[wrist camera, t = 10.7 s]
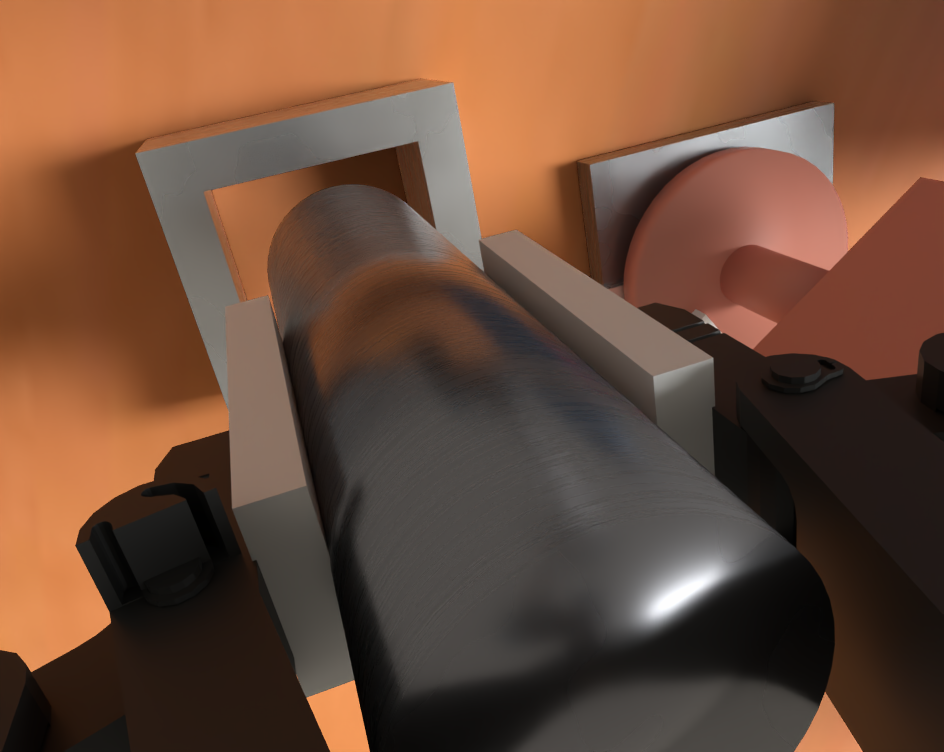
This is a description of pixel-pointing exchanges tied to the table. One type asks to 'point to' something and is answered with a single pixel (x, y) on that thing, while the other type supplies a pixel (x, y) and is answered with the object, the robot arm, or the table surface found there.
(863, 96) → the table surface
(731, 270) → the pink block-head stand
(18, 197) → the table surface
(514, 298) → the robot arm
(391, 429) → the hook peg
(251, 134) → the block
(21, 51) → the table surface
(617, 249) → the wheel base
